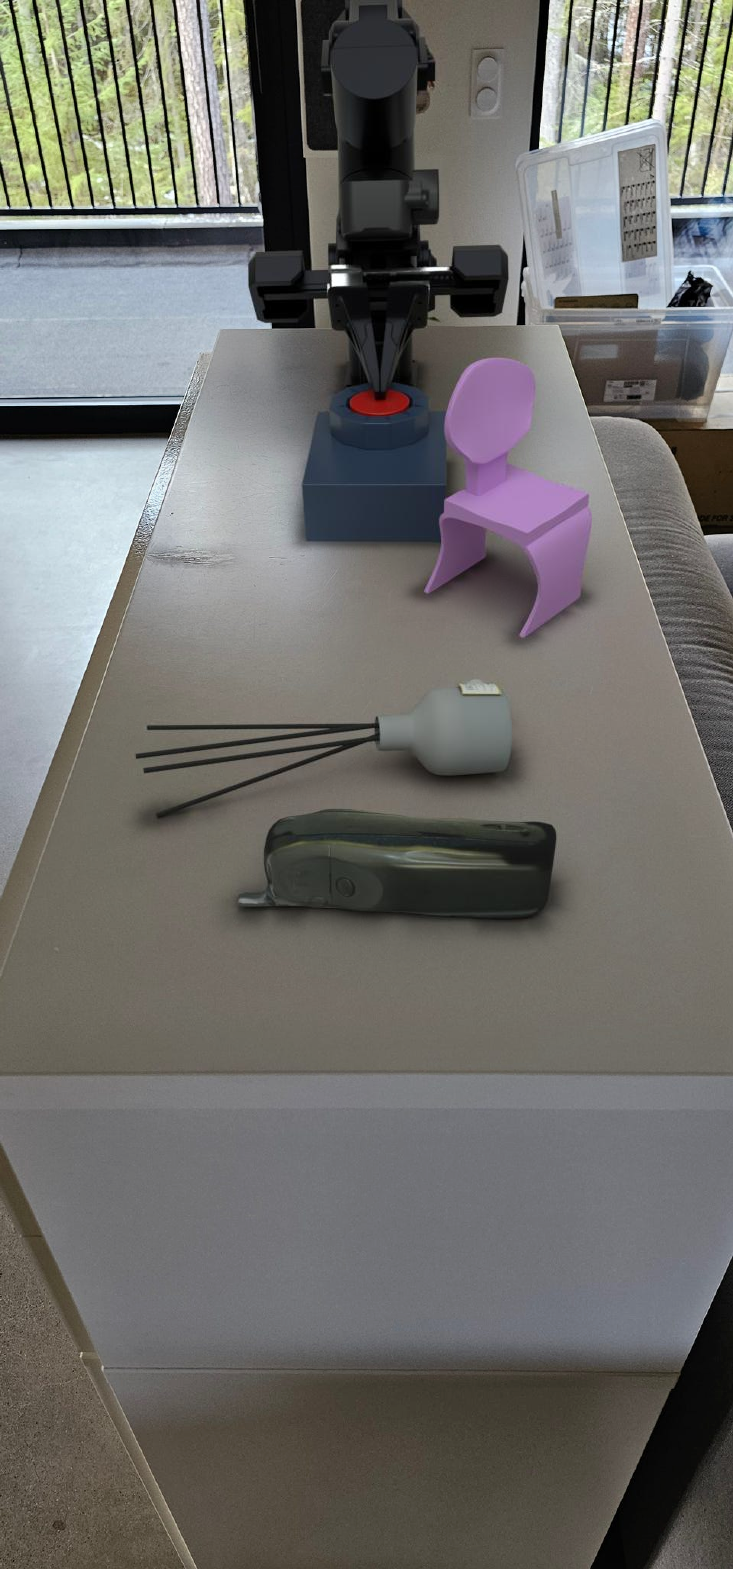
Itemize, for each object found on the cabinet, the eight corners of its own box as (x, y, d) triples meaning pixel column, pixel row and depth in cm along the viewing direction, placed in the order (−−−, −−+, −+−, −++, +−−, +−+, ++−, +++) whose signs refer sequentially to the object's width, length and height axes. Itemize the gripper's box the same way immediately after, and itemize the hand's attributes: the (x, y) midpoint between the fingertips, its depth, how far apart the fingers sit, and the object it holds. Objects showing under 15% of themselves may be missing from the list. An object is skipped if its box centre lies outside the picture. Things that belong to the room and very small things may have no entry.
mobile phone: (556, 808, 51) (235, 801, 52) (562, 854, 49) (227, 847, 49) (545, 880, 55) (243, 874, 55) (550, 927, 52) (236, 920, 53)
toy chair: (519, 649, 69) (538, 418, 59) (413, 599, 73) (413, 376, 63) (595, 593, 73) (624, 370, 63) (490, 549, 78) (502, 334, 68)
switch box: (321, 461, 89) (316, 382, 84) (445, 461, 88) (447, 381, 84) (306, 542, 79) (299, 457, 75) (444, 542, 79) (446, 457, 74)
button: (352, 415, 84) (351, 389, 83) (410, 415, 84) (410, 388, 83) (348, 440, 81) (347, 413, 80) (408, 440, 81) (408, 413, 79)
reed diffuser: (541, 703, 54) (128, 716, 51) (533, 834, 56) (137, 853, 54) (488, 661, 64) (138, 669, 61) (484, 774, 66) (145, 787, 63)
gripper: (236, 125, 74) (238, 352, 73) (514, 116, 73) (519, 344, 73) (257, 219, 85) (259, 417, 84) (498, 212, 84) (503, 410, 84)
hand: (380, 397), depth 81 cm, fingers closed, pressing on button
